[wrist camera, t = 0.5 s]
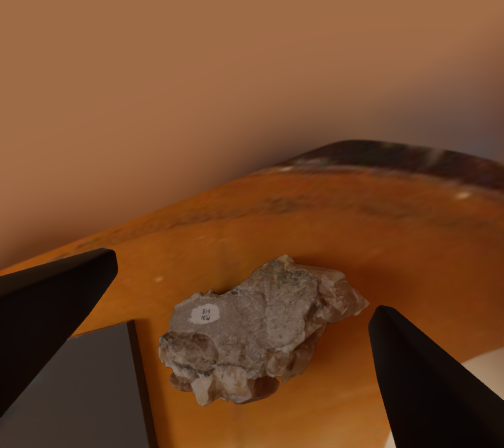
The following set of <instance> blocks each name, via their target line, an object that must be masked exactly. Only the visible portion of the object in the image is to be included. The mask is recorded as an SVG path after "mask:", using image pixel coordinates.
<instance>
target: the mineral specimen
mask: <svg viewBox="0 0 504 448" xmlns="http://www.w3.org/2000/svg"><path fill="white" fill-rule="evenodd" d="M344 278H345V275H344V274H343V273H342V272H340V271H337V270H333V269H329V268H325V267H319V266H306V265H302V264H296V263H294V260H293V259H292V258H291V256H287V255H283V256H280V257H278V258H276V259H274V260H272V261H270V262H268V263H266V264H264V265H263V266H261V267H260V268H258V269H256V270H255V271H253V273H252V275H251V276H250V278H248V279H246V280H245V281H243V282H242V283H241V284H240V285H238V286H236V287H234V288H233V290H231V291H228V292H226V293H225V294H221V295H218V294H215V293H214V290H213V289H211V290H210V291H209V292H206V294H205V295H204V296H203V294H202V293H196V294H194V295H192V296H191V297H190V298H187V299H185V300H183V302H181V303H180V304H177V305H176V306H175V307H174V313H173V315H172V317H171V319H170V324H169V329H168V332H167V333H166V334H164V335H163V336H160V339H159V349H158V351H159V357H160V359H161V362H162V364H165V365H166V367H169V368H172V369H173V373H172V375H171V376H170V381H171V385H172V386H173V387H175V388H177V389H179V390H180V391H185V392H194V394H195V396H196V401H197V403H198V404H200V405H201V406H206V405H208V404H210V403H211V402H213V401H214V400H215V399H217V398H218V397H219V398H220V399H221V400H225V401H227V402H228V401H229V400H231V401H232V402H233V403H235V404H246V403H249V402H253V401H257V400H261V399H264V398H267V397H269V396H271V395H272V394H273V393H275V392H276V391H277V389H278V387H279V385H280V382H279V381H278V380H277V379H276V378H275V377H276V376H282V380H283V383H284V382H287V381H288V380H289V379H290V378H291V377H294V376H296V375H300V374H302V373H303V372H304V370H305V369H306V368H307V366H308V364H309V361H310V360H311V358H312V356H313V354H314V350H315V348H316V345H317V343H318V341H319V338H320V336H321V335H322V334H323V333H324V332H325V330H326V325H328V324H334V323H336V322H338V321H341V320H343V319H345V318H347V317H349V316H351V315H355V316H357V315H358V314H359V313H360V312H361V310H363V309H364V308H366V307H367V306H368V305H369V304H370V303H369V302H368V301H367V300H366V299H365V298H364V297H363V296H362V295H361V294H360V293H359V292H358V291H357V290H356V289H355V288H354V287H353V286H351V285H350V284H347V282H348V281H347V280H345V279H344Z"/></svg>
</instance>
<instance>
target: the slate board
mask: <svg viewBox="0 0 504 448" xmlns="http://www.w3.org/2000/svg"><path fill="white" fill-rule="evenodd" d="M0 448H158V447H157V442H156V436H155V431H154V426H153V420H152V415H151V410H150V405H149V399H148V394H147V389H146V384H145V378H144V373H143V368H142V362H141V357H140V352H139V347H138V341H137V336H136V331H135V325H134V320H133V319H132V320H129V321H125V322H121V323H118V324H114V325H111V326H107V327H104V328H100V329H97V330H93V331H89V332H86V333H82V334H79V335H75V336H72V337H69V338H68V340H67V341H66V342H65V343H64V344H63V345H62V347H61V348H60V349H59V350H58V351H57V352H56V354H55V355H54V356H53V357H52V358H51V360H50V361H49V362H48V363H47V364H46V365H45V367H44V368H43V369H42V370H41V371H40V372H39V374H38V375H37V376H36V377H35V378H34V379H33V381H32V382H31V383H30V384H29V385H28V386H27V388H26V389H25V390H24V391H23V392H22V394H21V395H20V396H19V397H18V398H17V399H16V401H15V402H14V403H13V404H12V405H11V406H10V408H9V409H8V410H7V411H6V412H5V413H4V415H3V416H2V417H1V418H0Z"/></svg>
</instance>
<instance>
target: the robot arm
mask: <svg viewBox="0 0 504 448" xmlns="http://www.w3.org/2000/svg"><path fill="white" fill-rule="evenodd" d="M117 273H118V265H117V258H116V253H115V251H114V250H111V249H106V248H99V249H96V250H92V251H89V252H85V253H82V254H78V255H75V256H71V257H67V258H64V259H60V260H57V261H53V262H50V263H46V264H42V265H39V266H35V267H32V268H28V269H25V270H21V271H18V272H14V273H10V274H7V275H3V276H0V418H1V417H2V416H3V415H4V413H5V412H6V411H7V410H8V409H9V408H10V406H11V405H12V404H13V403H14V402H15V401H16V399H17V398H18V397H19V396H20V395H21V394H22V392H23V391H24V390H25V389H26V388H27V386H28V385H29V384H30V383H31V382H32V381H33V379H34V378H35V377H36V376H37V375H38V374H39V372H40V371H41V370H42V369H43V368H44V367H45V365H46V364H47V363H48V362H49V361H50V360H51V358H52V357H53V356H54V355H55V354H56V352H57V351H58V350H59V349H60V348H61V347H62V345H63V344H64V343H65V342H66V341H67V340H68V338H69V337H70V336H71V335H72V334H73V333H74V331H75V330H76V329H77V328H78V327H79V326H80V324H81V323H82V322H83V321H84V320H85V318H86V317H87V316H88V315H89V313H90V312H91V311H92V309H93V308H94V307H95V305H96V304H97V302H98V301H99V300H100V298H101V297H102V295H103V294H104V293H105V291H106V290H107V288H108V287H109V286H110V284H111V283H112V281H113V280H114V278H115V277H116V275H117ZM368 330H369V336H370V342H371V347H372V353H373V359H374V365H375V370H376V375H377V380H378V384H379V388H380V392H381V395H382V399H383V402H384V406H385V409H386V413H387V417H388V420H389V424H390V427H391V431H392V434H393V438H394V441H395V445H396V448H504V400H502V399H501V398H500V397H499V396H498V395H497V394H496V393H494V392H493V391H492V390H491V389H489V388H488V387H487V386H486V385H485V384H484V383H482V382H481V381H480V380H479V379H477V378H476V377H475V376H474V375H473V374H472V373H470V372H469V371H468V370H467V369H466V368H465V367H463V366H462V365H461V364H460V363H459V362H458V361H456V360H455V359H454V358H453V357H452V356H450V355H449V354H448V353H447V352H446V351H444V350H443V349H442V348H441V347H440V346H438V345H437V344H436V343H435V342H434V341H433V340H431V339H430V338H429V337H428V336H427V335H425V334H424V333H423V332H422V331H421V330H419V329H418V328H417V327H416V326H415V325H414V324H412V323H411V322H410V321H409V320H408V319H406V318H405V317H404V316H403V315H402V314H400V313H399V312H398V311H397V310H396V309H394V308H393V307H389V306H384V305H379V306H378V307H377V308H376V310H375V312H374V314H373V316H372V318H371V320H370V322H369V326H368Z"/></svg>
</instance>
